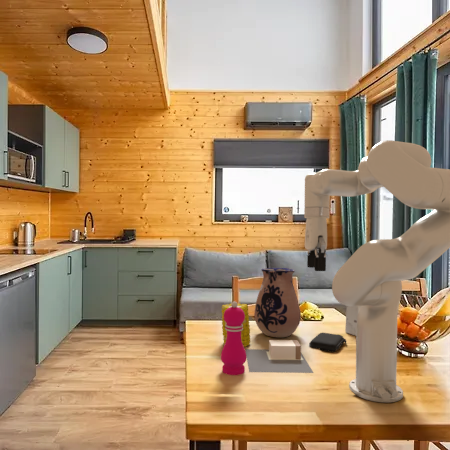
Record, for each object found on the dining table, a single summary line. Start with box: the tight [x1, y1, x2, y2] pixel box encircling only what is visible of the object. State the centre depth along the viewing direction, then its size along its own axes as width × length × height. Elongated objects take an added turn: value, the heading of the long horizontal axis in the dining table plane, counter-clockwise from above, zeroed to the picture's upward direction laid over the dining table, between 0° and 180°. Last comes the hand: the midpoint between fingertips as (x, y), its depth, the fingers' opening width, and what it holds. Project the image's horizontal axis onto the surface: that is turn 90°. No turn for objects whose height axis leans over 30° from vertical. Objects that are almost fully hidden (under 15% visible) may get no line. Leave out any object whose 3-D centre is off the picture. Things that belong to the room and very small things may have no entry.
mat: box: [244, 348, 314, 374], centre depth 118 cm, size 20×18×1 cm
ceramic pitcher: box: [253, 267, 302, 339], centre depth 149 cm, size 18×21×25 cm
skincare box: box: [345, 306, 361, 336], centre depth 150 cm, size 6×4×12 cm
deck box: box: [268, 339, 302, 359], centre depth 122 cm, size 9×6×4 cm
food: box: [221, 303, 251, 348], centre depth 134 cm, size 15×12×10 cm
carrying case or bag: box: [309, 332, 347, 353], centre depth 135 cm, size 11×3×15 cm
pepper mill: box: [220, 301, 247, 376], centre depth 109 cm, size 7×7×20 cm
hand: (316, 269), depth 119 cm, fingers open, 9 cm apart
